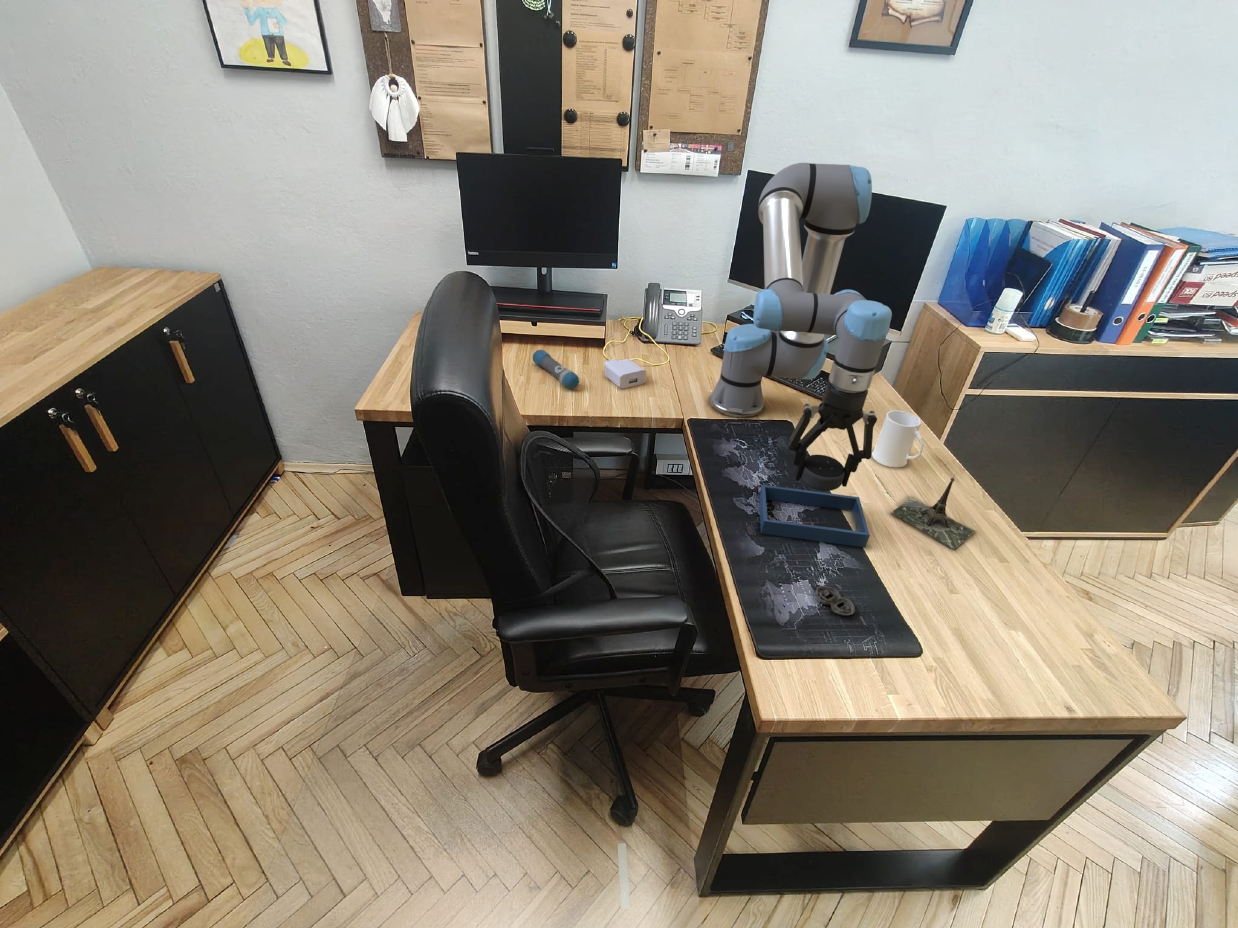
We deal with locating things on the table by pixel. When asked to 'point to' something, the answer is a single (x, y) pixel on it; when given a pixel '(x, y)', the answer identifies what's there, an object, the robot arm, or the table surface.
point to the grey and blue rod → (556, 369)
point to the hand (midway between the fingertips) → (820, 479)
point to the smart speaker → (822, 472)
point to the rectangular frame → (811, 531)
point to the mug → (897, 439)
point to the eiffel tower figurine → (934, 520)
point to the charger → (624, 373)
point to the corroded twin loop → (835, 600)
